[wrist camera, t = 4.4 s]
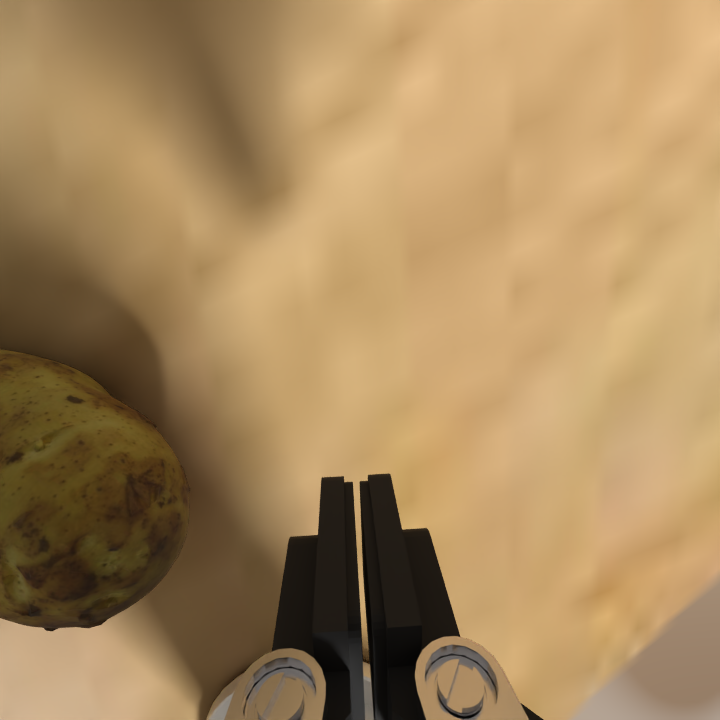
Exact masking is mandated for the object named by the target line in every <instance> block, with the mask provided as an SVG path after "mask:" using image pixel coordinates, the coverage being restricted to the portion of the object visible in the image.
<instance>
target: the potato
mask: <svg viewBox="0 0 720 720" xmlns="http://www.w3.org/2000/svg"><path fill="white" fill-rule="evenodd" d="M189 491H190V488H189V485H188V482H187V479H186V476H185V473H184V471H183V468H182V466H181V465H180V463H179V461H178V459H177V457H176V456H175V454H174V452H173V450H172V449H171V448H170V446H169V445H168V443H167V442H166V441H165V439H164V438H163V437H162V435H161V434H160V433H159V432H158V431H157V430H156V425H155V424H154V423H153V422H152V421H151V420H149V419H148V418H147V417H145V416H144V415H142V414H141V413H139V412H138V411H137V410H133V409H132V408H130V407H128V406H127V405H125V404H124V403H122V402H120V401H118V400H116V399H114V398H112V397H111V396H110V394H109V393H108V392H107V391H106V390H105V389H104V388H103V387H102V386H101V385H100V384H99V383H97V382H96V381H95V380H94V379H92V378H91V377H89V376H88V375H86V374H84V373H82V372H81V371H79V370H77V369H75V368H72V367H70V366H67V365H64V364H62V363H59V362H56V361H52V360H49V359H45V358H42V357H38V356H34V355H30V354H25V353H20V352H14V351H9V350H0V618H2V619H5V620H8V621H12V622H15V623H18V624H22V625H26V626H32V627H42V628H44V629H45V630H46V631H54V630H55V629H58V628H66V627H81V628H91V627H95V626H99V625H101V624H103V623H104V622H105V621H106V620H107V619H109V618H111V617H112V616H114V615H116V614H118V613H120V612H122V611H123V610H125V609H127V608H128V607H130V606H131V605H133V604H134V603H136V602H137V601H139V600H140V599H141V598H143V597H144V596H145V595H146V594H148V593H149V592H150V591H151V590H152V589H154V588H155V586H156V585H157V584H158V583H159V582H160V581H161V580H162V579H163V577H164V576H165V575H166V574H167V572H168V571H169V569H170V568H171V566H172V565H173V563H174V562H175V560H176V559H177V557H178V555H179V553H180V551H181V549H182V546H183V543H184V540H185V537H186V535H187V529H188V522H189V498H188V497H189Z"/></svg>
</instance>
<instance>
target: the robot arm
mask: <svg viewBox="0 0 720 720" xmlns="http://www.w3.org/2000/svg"><path fill="white" fill-rule="evenodd" d="M360 503H361V529H362V555H363V578H364V592H365V606H366V619H367V633H368V647H369V660H370V664H368V663H365V662H363V656H362V633H361V614H360V597H359V580H358V563H357V546H356V529H355V512H354V495H353V482H344V476H341V477H324V478H322V480H321V495H320V512H319V528H318V535H312V536H297V537H290V539H289V543H288V549H287V555H286V562H285V568H284V575H283V582H282V588H281V595H280V601H279V608H278V615H277V621H276V628H275V634H274V641H273V647H272V652H270V653H267V654H265V655H263V656H262V657H261V658H259V659H258V660H256V661H255V662H254V663H252V664H251V666H250V667H249V668H248V669H247V670H246V671H245V673H243V674H241V675H240V676H238V677H236V678H235V679H234V680H233V681H232V682H231V683H230V684H228V685H227V686H226V687H225V688H224V689H223V690H222V691H221V693H220V694H219V695H218V697H217V698H216V699H215V701H214V702H213V704H212V706H211V709H210V711H209V713H208V716H207V719H206V720H543V719H542V718H540V717H539V716H538V715H536V714H535V713H534V712H532V711H531V710H529V709H528V708H527V707H525V706H524V705H523V704H521V703H520V701H519V700H518V698H517V696H516V694H515V692H514V690H513V688H512V686H511V684H510V682H509V680H508V678H507V676H506V674H505V673H504V671H503V669H502V667H501V666H500V664H499V663H498V662H497V660H496V659H495V657H494V656H493V655H492V654H491V653H490V652H489V651H487V650H486V649H485V648H484V647H483V646H482V645H480V644H478V643H476V642H474V641H472V640H470V639H467V638H462V637H460V634H459V631H458V627H457V624H456V621H455V617H454V614H453V610H452V607H451V604H450V600H449V597H448V594H447V590H446V587H445V583H444V580H443V577H442V573H441V570H440V567H439V563H438V560H437V556H436V553H435V550H434V546H433V543H432V539H431V536H430V533H429V530H428V529H427V528H422V529H406V530H402V527H401V523H400V518H399V513H398V508H397V504H396V499H395V494H394V489H393V484H392V480H391V475H390V474H375V475H368V481H360Z"/></svg>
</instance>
